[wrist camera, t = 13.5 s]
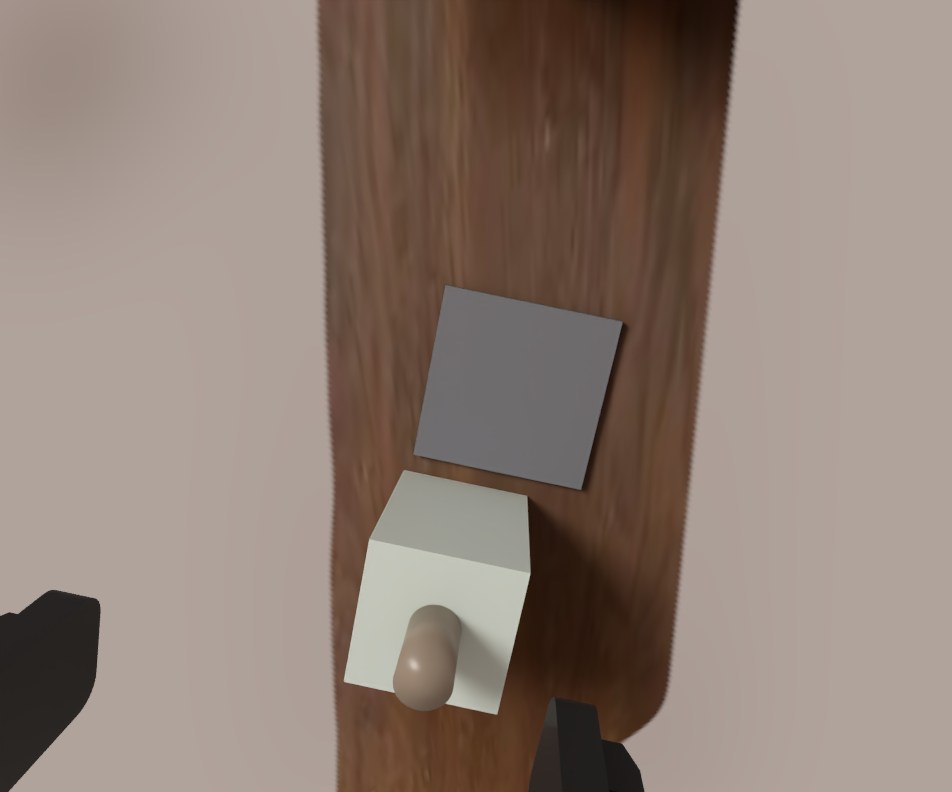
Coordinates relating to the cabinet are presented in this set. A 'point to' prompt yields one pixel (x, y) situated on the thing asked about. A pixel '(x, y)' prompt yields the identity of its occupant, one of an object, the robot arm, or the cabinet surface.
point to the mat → (515, 386)
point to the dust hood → (442, 594)
